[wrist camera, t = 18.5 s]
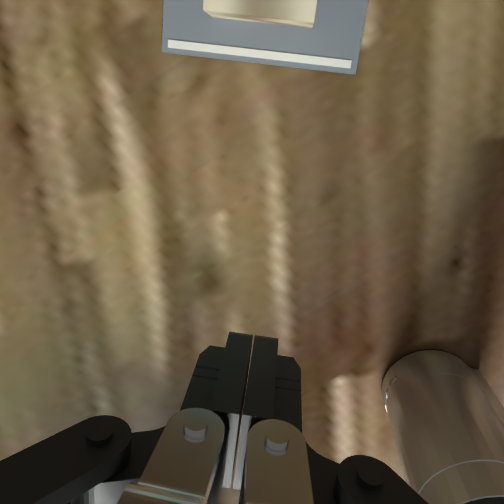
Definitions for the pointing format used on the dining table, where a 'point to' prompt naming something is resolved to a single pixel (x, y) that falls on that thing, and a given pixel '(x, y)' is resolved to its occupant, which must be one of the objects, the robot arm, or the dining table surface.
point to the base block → (264, 11)
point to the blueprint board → (269, 36)
